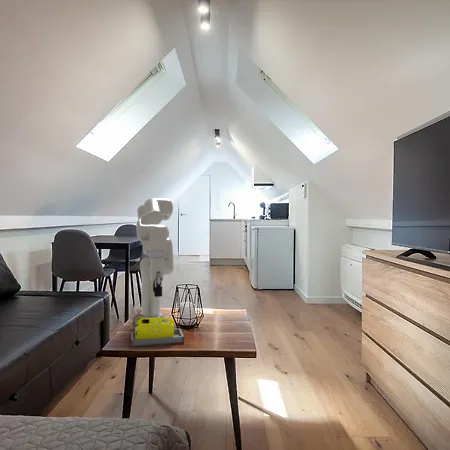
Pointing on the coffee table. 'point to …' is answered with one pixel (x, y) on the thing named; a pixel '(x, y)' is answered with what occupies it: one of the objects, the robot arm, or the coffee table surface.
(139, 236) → the robot arm
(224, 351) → the coffee table surface
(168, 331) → the yellow toy chassis
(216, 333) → the coffee table surface
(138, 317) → the pocket watch
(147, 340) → the tray
